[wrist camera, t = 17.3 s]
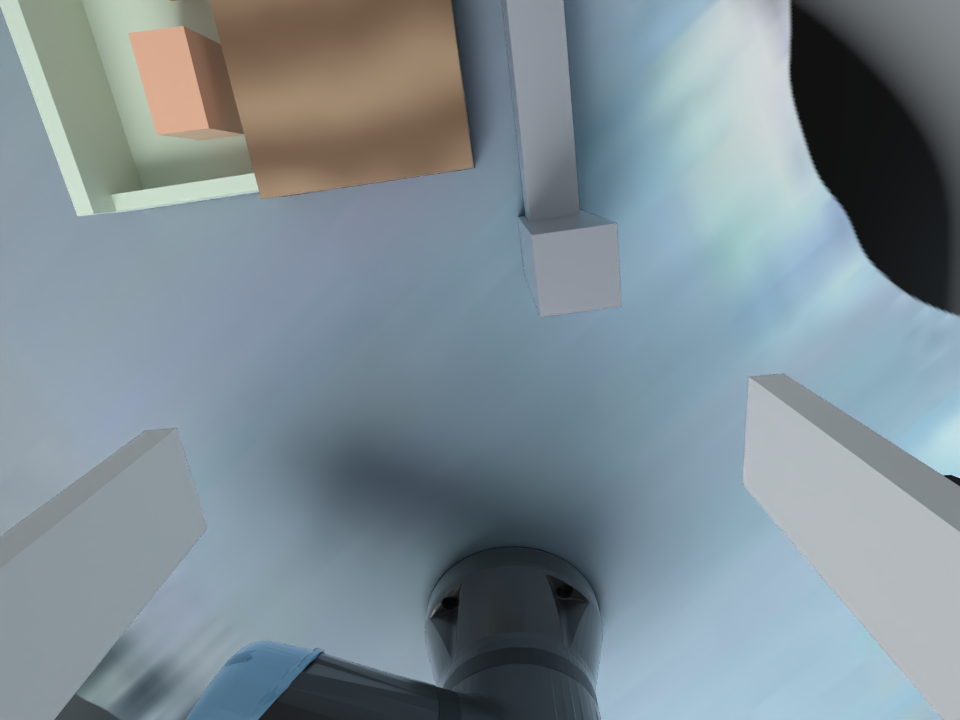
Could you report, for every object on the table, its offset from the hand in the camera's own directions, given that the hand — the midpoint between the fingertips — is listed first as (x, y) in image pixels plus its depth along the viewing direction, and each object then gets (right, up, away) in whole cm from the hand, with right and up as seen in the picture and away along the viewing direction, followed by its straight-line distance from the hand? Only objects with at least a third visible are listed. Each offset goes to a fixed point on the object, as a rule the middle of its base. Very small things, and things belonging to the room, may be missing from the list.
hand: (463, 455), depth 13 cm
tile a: (-15, +18, +19) cm, 30 cm away
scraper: (+4, +20, +22) cm, 29 cm away
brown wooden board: (-8, +22, +21) cm, 31 cm away
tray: (-19, +22, +21) cm, 36 cm away
